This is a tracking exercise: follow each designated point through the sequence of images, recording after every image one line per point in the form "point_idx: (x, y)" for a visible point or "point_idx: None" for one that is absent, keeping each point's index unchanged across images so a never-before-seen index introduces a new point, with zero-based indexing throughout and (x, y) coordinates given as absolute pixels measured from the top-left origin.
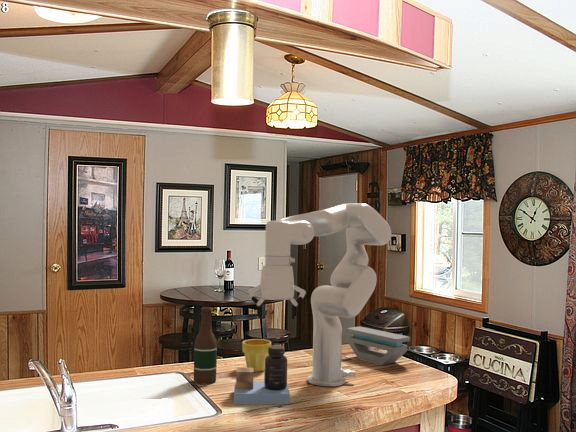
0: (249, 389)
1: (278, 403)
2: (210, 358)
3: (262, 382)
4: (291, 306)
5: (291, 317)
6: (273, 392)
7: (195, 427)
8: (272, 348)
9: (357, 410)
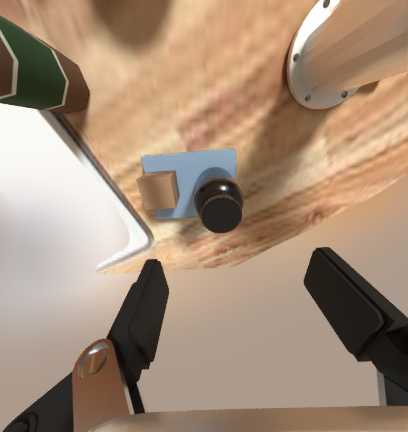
0: None
1: None
2: (38, 99)
3: (191, 158)
4: (363, 327)
5: (310, 272)
6: None
7: None
8: (211, 228)
9: (313, 221)
